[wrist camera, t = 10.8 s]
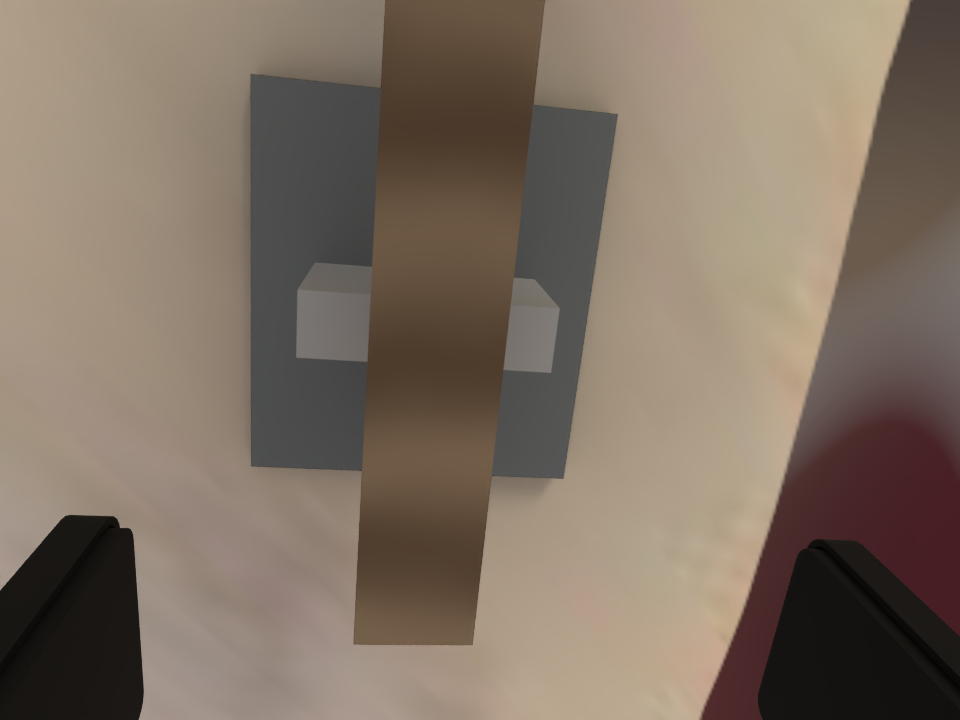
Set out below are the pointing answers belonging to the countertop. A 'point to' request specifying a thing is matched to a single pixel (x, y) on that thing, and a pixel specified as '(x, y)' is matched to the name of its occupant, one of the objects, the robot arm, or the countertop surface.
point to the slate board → (342, 228)
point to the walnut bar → (440, 306)
